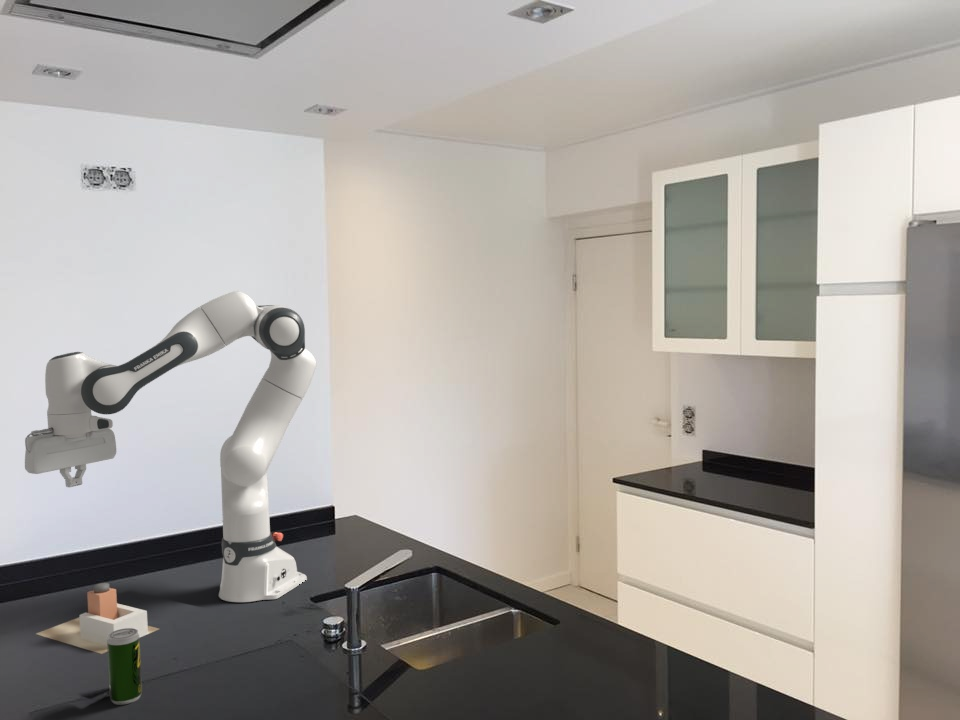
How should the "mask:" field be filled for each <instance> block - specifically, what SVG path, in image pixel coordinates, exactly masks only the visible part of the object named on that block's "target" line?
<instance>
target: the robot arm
mask: <svg viewBox="0 0 960 720" xmlns="http://www.w3.org/2000/svg"><path fill="white" fill-rule="evenodd" d="M305 328H306V327H305V322H304V321H303V319H302V317H301V316H300V314H299V313H297V312H296V311H295V310H293V309H291V308H289V307H287V306H284V305H280V304H279V305H278V304H277V305H276V304H275V305H274V304H273V305H272V304H269V305H257V304H256V302H255V301H254V299H252V297H250V296H249V295H248V294H246V293H245V292H243V291H239V290H234V291H232V292H228V293H226V294H223V295H221V296H218V297H216V298H213V299H211V300H209V301H207V302H205V303H203V304H201V305H200V306H197V307H196V308H195V309H193V310H191V311H190V312H189V313H187V314H186V315H185V316H183V317H182V318H181V319H180V320H179V321H178V322H176V324H174V325H173V327H172V328H171V330H170V331H169V332H168V333H167V334H166V335H165V337H164V338H162V339H161V340H160V341H159V342H158V343H157V344H155V345H153V346H152V347H151V348H149V349H147V350H146V351H144V352H141V354H139V355H137V356H135V357H134V358H132V359H130V360H128V361H127V362H124V363H122V364H119V365H116V364H112V363H107V362H102V361H100V360H99V359H95V358H92V357H90V356H89V355H87V354H85V353H84V352H83V351H82V352H80V351H75V352H73V351H72V352H67V353H63V354H60V355H56V356H54V357H51V359H49V360H48V362H47V363H46V366H45V374H44V379H45V380H44V382H45V383H44V384H45V387H44V388H45V397H46V399H47V401H48V406H47V409H46V410H47V411H46V415H47V417H46V418H47V428H43V429H39V430H38V429H36V430H32V431H31V432H30V433H28V434H27V436H26V437H25V438H24V445H25V454H24V469H25V471H26V472H27V473H28V474H32V475H34V474H35V475H39V474H40V475H41V474H43V473H49V472H53V471H54V472H55V471H58V470H59V473H60V475H61V477H62V478H63V479H64V480H65V487H66V488H73V487H77V486H81V485H83V477H84V474H85V472H86V470H87V465H89V464H92V463H98V462H103V461H104V462H105V461H108V460H112V459H114V458H115V457H116V454H117V442H116V435H115V432H114V431H113V430H112V428H113V426H114V422H113V420H112V419H111V418H106V417H102V416H101V417H100V416H97V415H92V412H95V413H97V414H100V415H114V414H117V413H119V412H121V411H123V410H124V409H125V408H126V407H127V406H128V405H129V404H130V402H131V401H132V400H133V398H134V396H136V394H137V392H138V391H140V390H141V389H142V388H144V387H145V386H146V385H148V384H150V383H152V382H153V381H155V380H156V379H158V378H159V377H161V376H163V375H164V374H166V373H167V372H169V371H171V370H172V369H175V368H177V367H178V366H181V365H184V364H187V363H190V362H193V361H197V360H199V359H202V358H205V357H207V356H210V355H212V354H214V353H216V352H219V351H220V350H222V349H224V348H226V347H227V346H229V345H230V344H232V343H233V342H235V341H237V340H239V339H242V338H244V337H251V338H253V340H254V341H255V342H256V343H258V344H259V345H260V346H261V347H263V348H264V349H266V350H269V352H270V357H271V358H270V361H269V365H268V368H267V369H266V371H265V372H264V375H262V377H261V379H260V382H259V383H258V384H257V387H256V388H255V390H254V392H253V394H252V395H251V397H250V399H249V401H248V403H247V405H246V406H245V408H244V411H243V412H242V415H241V417H240V419H239V421H238V423H237V425H236V427H235V429H234V431H233V432H232V435H230V436H229V437H228V438H227V439H226V440H225V441H224V442H223V444H222V446H221V449H220V452H219V453H220V454H219V455H220V456H219V457H220V459H219V461H220V462H219V463H220V465H219V466H220V479H221V481H220V482H221V510H222V534H223V535H222V536H223V537H222V538H221V554H222V557H223V558H222V568H221V579H220V580H221V581H220V584H219V592H218V598H219V599H220V600H223V601H225V602H230V603H251V602H256V601H257V602H258V601H262V600H263V601H265V600H277V599H279V598H280V597H283V595H286V594H287V593H288V592H290V591H292V590H294V589H296V587H298V586H300V585H301V584H303V583H304V582H306V581H307V580H308V577H307V575H306V574H304V573H302V572H300V571H298V567H297V562H296V560H295V557H293V556H292V555H291V554H290V553H288V552H286V551H284V550H283V549H281V548H280V547H278V546H277V544H276V541H278V542H282V540H283V538H284V534H283V533H282V532H273V533H272V532H271V525H270V524H271V523H270V522H271V521H270V499H269V498H270V497H269V482H268V470H269V467H270V465H271V464H272V461H273V459H274V457H275V455H276V453H277V450H278V448H279V446H280V445H281V442H282V440H283V437H284V435H285V433H286V431H287V428H288V427H289V425H290V423H291V421H292V419H293V417H294V415H295V414H296V412H297V410H298V408H299V406H300V405H301V404H302V400H303V398H304V397H305V396H306V394H307V391H308V389H309V387H310V385H311V382H312V380H313V377H314V374H315V371H316V369H317V368H316V367H317V360H316V358H315V356H314V355H313V354H312V352H311V351H309V349H307V348H306V330H305ZM73 467H74V470H76V472H75V474H74V476H73V477H72V475H71V474H70V473H71V472H72V468H73ZM305 580H306V581H305ZM302 582H303V583H302ZM299 584H300V585H299Z"/></svg>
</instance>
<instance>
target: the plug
mask: <svg viewBox="0 0 960 720" xmlns="http://www.w3.org/2000/svg"><path fill="white" fill-rule="evenodd" d="M86 593H87V595H86V596H87V613H90V614H93V615H97V616H101V617H105V618H108V619H112V620H115V619H117V618H118V616H117V603H118V601H117V600H118V598H117V597H118V596H117V588H111V587H110V583H109V582H101V583H96V584H94V585H93V590H89V591H88V592H87V591H86Z"/></svg>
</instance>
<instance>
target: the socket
mask: <svg viewBox="0 0 960 720" xmlns="http://www.w3.org/2000/svg"><path fill="white" fill-rule="evenodd" d="M117 616H118V618H117V619H115V620H112V619H108V618H105V617H101V616H97V615H93V614H90V613H88V612H83V613H80V614H79V617H80V635H81V638H82V639H85V640H89V641H92V642H96V643H99V644H102V645H106V646H107V640H108V635H109V634H110V633H112V632H113V631H116V630H119V629H125V628H134V629H137V630H138V634H139V638H142V636H143V637H145V636H146V635H149V634H148V626H149V625H148V611H147V610H145V609H141V608H137V607H133V606H129V605H124V604H120V603H118V602H117ZM144 635H145V636H144Z"/></svg>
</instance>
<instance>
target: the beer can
mask: <svg viewBox="0 0 960 720" xmlns="http://www.w3.org/2000/svg"><path fill="white" fill-rule="evenodd" d="M140 638H141V637H140ZM140 638H139V634H138V630H137V629H134V628H125V629H119V630H116V631H113V632H112V633H110V634H109V635H108V640H107V649H108V651H107V664H108V665H107V666H108V685H109V688H108V689H109V699H110V701H111V702H112V703H113V704H114V705H118V706H119V705H120V706H121V705H128V704H131V703H134V702H137V701H138V700H139V699H141V695H142V693H143V681H142V679H143V678H142V660H141V659H142V658H141V644H140V643H141V642H140Z"/></svg>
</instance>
